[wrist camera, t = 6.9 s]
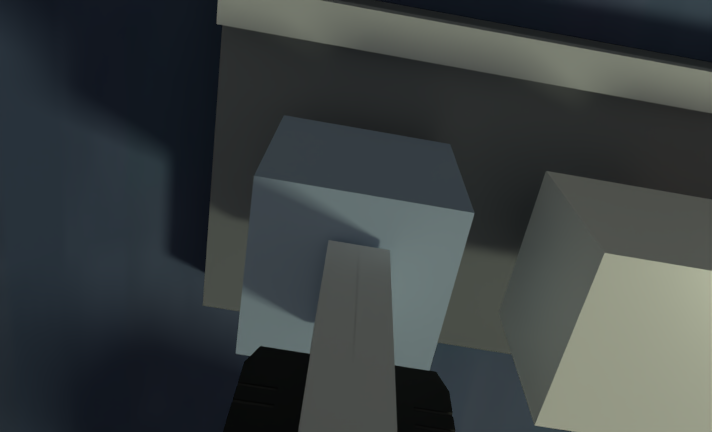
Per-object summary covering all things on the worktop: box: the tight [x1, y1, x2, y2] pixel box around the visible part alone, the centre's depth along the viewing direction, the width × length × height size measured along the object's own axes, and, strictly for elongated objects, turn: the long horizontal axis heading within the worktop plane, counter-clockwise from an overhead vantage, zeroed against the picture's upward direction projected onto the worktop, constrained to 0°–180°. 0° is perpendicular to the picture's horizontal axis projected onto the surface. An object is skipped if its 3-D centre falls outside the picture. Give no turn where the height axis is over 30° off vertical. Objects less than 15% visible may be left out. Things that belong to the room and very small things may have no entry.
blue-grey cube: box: [236, 115, 474, 371], centre depth 17 cm, size 5×5×5 cm
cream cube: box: [499, 171, 712, 432], centre depth 17 cm, size 5×5×5 cm
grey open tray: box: [203, 0, 712, 354], centre depth 20 cm, size 26×12×6 cm, turn 80°
